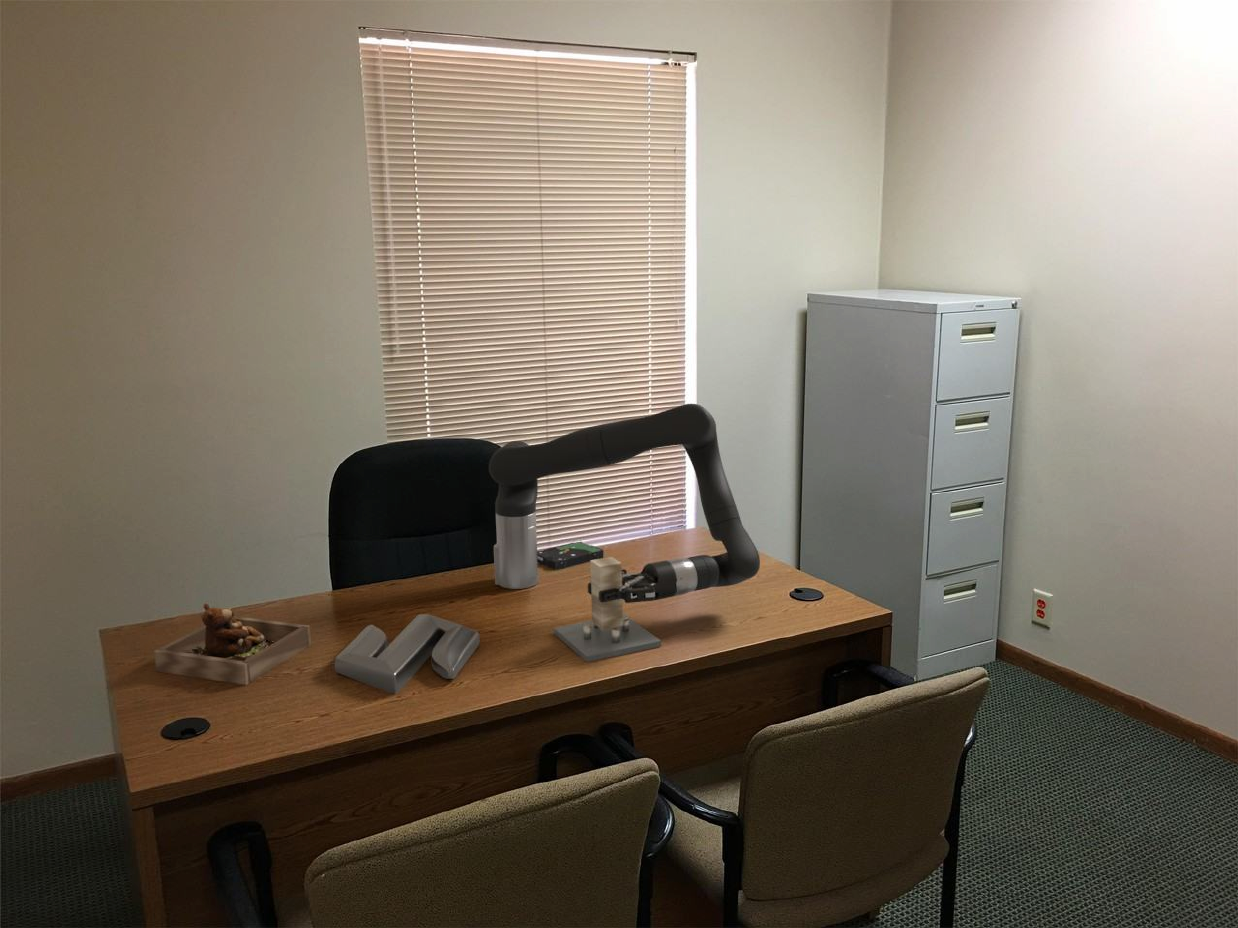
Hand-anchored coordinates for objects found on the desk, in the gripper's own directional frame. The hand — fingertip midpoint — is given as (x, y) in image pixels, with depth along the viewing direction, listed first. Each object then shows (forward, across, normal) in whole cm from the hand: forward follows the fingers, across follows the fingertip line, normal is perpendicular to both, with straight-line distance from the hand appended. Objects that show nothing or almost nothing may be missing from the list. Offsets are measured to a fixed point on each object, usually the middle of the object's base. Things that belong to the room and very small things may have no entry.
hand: (594, 592), depth 196 cm
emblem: (+35, -9, +11) cm, 38 cm away
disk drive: (-16, -51, +11) cm, 55 cm away
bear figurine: (+66, -27, +10) cm, 72 cm away
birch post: (-3, 0, +7) cm, 7 cm away
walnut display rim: (+65, -26, +10) cm, 71 cm away
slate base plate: (-2, 0, +10) cm, 11 cm away
